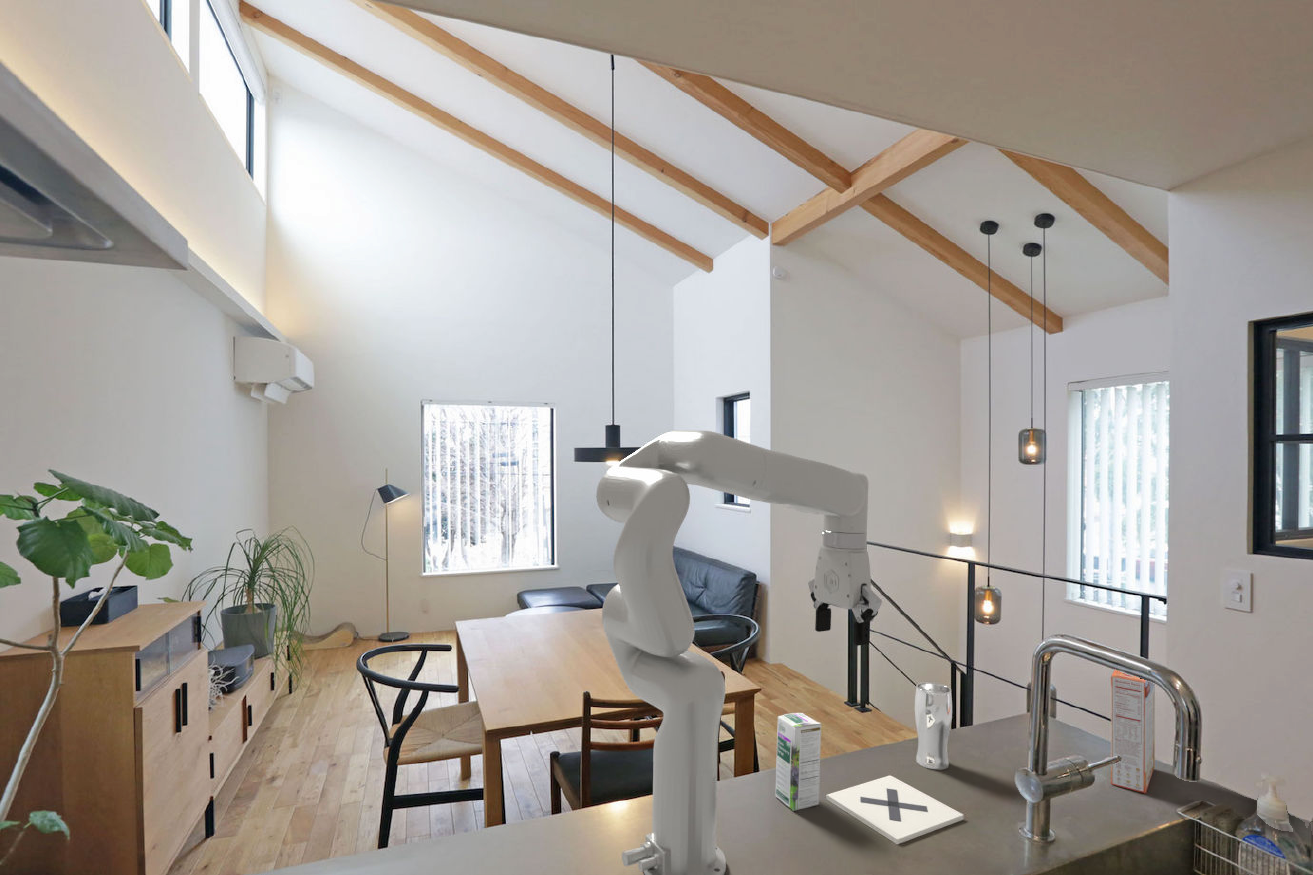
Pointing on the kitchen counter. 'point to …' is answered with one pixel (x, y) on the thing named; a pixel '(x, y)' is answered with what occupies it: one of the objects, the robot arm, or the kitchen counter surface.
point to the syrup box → (798, 761)
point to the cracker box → (1132, 731)
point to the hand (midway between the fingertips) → (841, 637)
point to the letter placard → (894, 808)
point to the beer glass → (933, 724)
